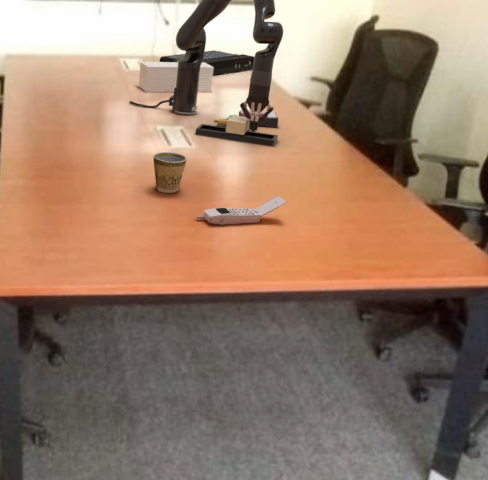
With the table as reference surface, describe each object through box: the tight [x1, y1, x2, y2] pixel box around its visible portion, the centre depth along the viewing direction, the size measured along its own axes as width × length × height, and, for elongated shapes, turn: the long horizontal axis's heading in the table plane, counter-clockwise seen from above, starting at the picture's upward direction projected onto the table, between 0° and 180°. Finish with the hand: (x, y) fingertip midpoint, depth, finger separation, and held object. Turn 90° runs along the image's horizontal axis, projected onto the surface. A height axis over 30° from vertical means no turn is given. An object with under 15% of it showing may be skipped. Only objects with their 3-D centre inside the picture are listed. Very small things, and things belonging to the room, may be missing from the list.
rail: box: [194, 123, 279, 147], centre depth 290 cm, size 30×8×2 cm, turn 71°
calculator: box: [238, 109, 279, 129], centre depth 310 cm, size 11×4×15 cm
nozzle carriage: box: [213, 114, 250, 135], centre depth 289 cm, size 13×9×6 cm
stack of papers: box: [138, 61, 214, 93], centre depth 352 cm, size 32×11×11 cm, turn 107°
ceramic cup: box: [153, 151, 187, 194], centre depth 234 cm, size 13×10×10 cm
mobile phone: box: [196, 195, 287, 226], centre depth 215 cm, size 6×6×25 cm
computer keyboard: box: [159, 50, 255, 76], centre depth 400 cm, size 45×28×7 cm, turn 135°
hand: (253, 131), depth 287 cm, fingers closed
